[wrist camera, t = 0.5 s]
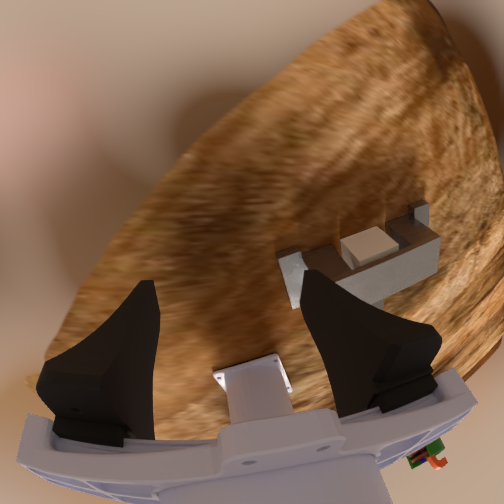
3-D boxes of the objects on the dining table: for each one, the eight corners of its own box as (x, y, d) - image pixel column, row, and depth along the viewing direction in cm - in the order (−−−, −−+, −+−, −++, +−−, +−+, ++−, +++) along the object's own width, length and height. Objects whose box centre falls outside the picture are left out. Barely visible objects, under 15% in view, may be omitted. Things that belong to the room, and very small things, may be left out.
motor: (394, 411, 51) (427, 476, 34) (424, 395, 51) (458, 455, 34) (387, 425, 56) (414, 483, 39) (415, 411, 57) (443, 466, 39)
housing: (421, 248, 27) (449, 272, 23) (290, 302, 27) (305, 339, 23) (422, 199, 24) (455, 219, 20) (275, 253, 24) (291, 287, 20)
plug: (379, 291, 29) (396, 313, 26) (348, 305, 29) (363, 328, 26) (376, 225, 24) (398, 244, 21) (339, 239, 25) (359, 261, 21)
